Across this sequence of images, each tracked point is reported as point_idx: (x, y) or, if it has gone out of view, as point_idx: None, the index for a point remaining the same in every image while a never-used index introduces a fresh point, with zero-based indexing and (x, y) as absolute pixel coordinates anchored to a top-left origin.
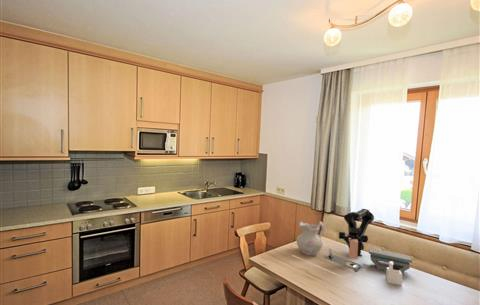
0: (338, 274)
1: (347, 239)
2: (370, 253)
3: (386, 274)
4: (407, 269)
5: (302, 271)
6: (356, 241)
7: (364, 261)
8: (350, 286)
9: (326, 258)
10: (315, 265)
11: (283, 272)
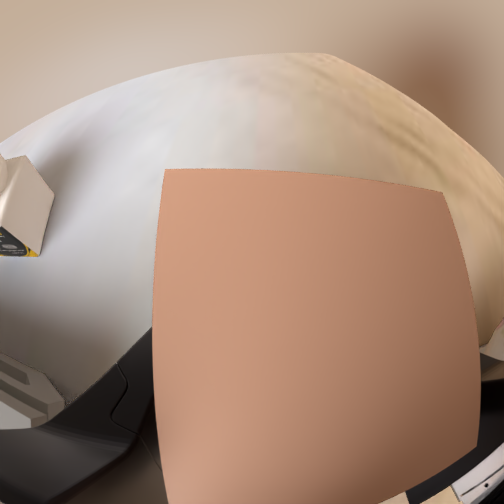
0: None
1: (492, 367)
2: (30, 409)
3: (29, 236)
4: None
5: (445, 168)
6: (233, 213)
7: None
8: (263, 102)
9: None
10: None
11: (467, 152)
